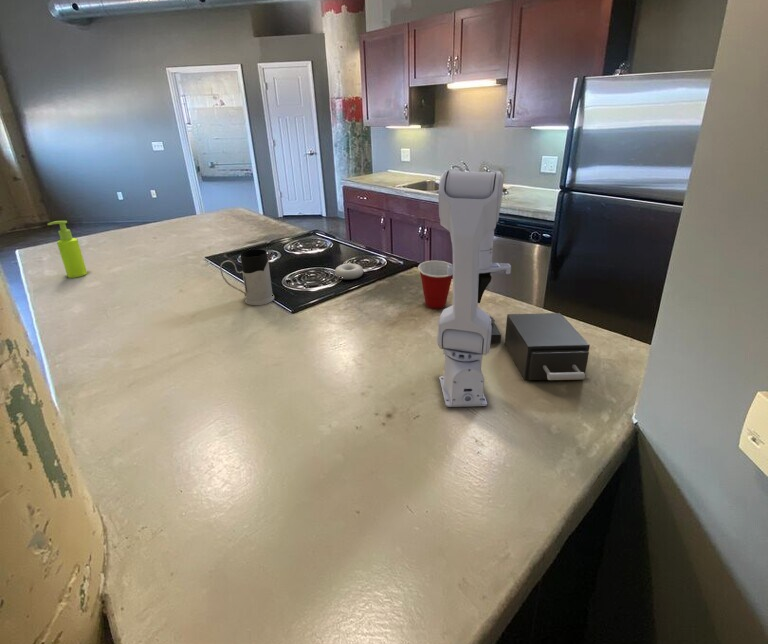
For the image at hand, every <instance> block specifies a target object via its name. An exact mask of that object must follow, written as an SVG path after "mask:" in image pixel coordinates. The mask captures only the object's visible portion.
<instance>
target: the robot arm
mask: <svg viewBox="0 0 768 644" xmlns="http://www.w3.org/2000/svg"><path fill="white" fill-rule="evenodd" d="M503 191H504V174H503V173H502V171H500V170H497V171H496V172H495V171H454V170H452V171H451V170H450V169H449V170H448V169H445V170H444V171H443V172H442V173H441V175H440V177H439V183H438V193H437V194H438V195H437V197H438V218H439V225H440V226H441V227H443V228H444V229H445V230H447V231H448V232H449V235H450V242H451V249H452V263H451V264H452V265H447V274H448V275H453V277H452V305H450V306H447V307H446V308H444V309H443V310H442V311H441V313H440V316H439V319H438V323H437V327H438V328H437V335H436V336H437V337H436V343H437V346H438V348H439V349H440V350H442V355H444V367H443V368H444V369H443V370H444V371H443V375H440V376H439V382H440V387H441V392H442V395H443V400H444V404H445V406H446V407H447V408H460V407H461V408H464V407H486V406H488V401H487V399H486V395H485V393H484V387H485V376H484V373H483V370H482V364H483V356H487V355H488V354H489V353H490V350H491V344H492V343H491V332H492V326H491V318H490V316H491V315H490V314H489V312H487V311H485V310H483V309H482V308H480V306H478V305H479V304H481V301H482V298H483V296H484V293H485V291H486V289H487V287H488V286H489V284H490V283H491V282H492V277H493V276H492V274H505V275H511V273H512V265H511V264H510V263H506V262H505V263H502V262H493V251H494V238H495V229H496V227H497V223H498V222H499V218H500V210H501V208H502V201H503ZM486 312H487V313H486Z"/></svg>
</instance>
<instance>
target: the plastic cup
mask: <svg viewBox="0 0 768 644" xmlns="http://www.w3.org/2000/svg"><path fill="white" fill-rule="evenodd" d="M452 264H453V263H450V262H447V261H444V260H426V261H423V262H421V263H419V264H418V265H417V270H418V272H419V275H420V278H421V285H422V292H423V297H424V302H425V306H426V307H428V308H430V309H434V310H438V309H443V308H444V307H446V304H447V301H448V297H449V294H450V289H451V284H452V281H453V275H448V274H447V265H452Z"/></svg>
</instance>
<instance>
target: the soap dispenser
mask: <svg viewBox="0 0 768 644" xmlns="http://www.w3.org/2000/svg"><path fill="white" fill-rule="evenodd" d="M66 224H68V220H55V221H51V222H48V223H47V226H52V225H59V228H60V230H58V235H59V240H56V243H57V248H58V250H59V253H60V257H61V260H62V263H63V266H64V269H65V272H66V276H67V278H70V279H72V278H80V277H83V276H85V275H87V274H88V271H87V268H86V263H85V260H84V256H83V254H82V250H81V246H80V244H79V241H78V238H77V237H73V235H72V232H71V229H69V228H67V225H66Z"/></svg>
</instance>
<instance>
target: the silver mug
mask: <svg viewBox="0 0 768 644" xmlns="http://www.w3.org/2000/svg"><path fill="white" fill-rule="evenodd" d="M267 252H268V251H267V250H265V249H261V248H255V249H248V250H245V251H242V252H240V254H239V255H240V262H241V268H242V270H241V271H238V268H237V265H236V263H235V262H234V261H232V260H229V259H227V260H224V261H222V262H221V263H220V266H219V270H220V274H221V277H222V279H223V280H224V281H225V283H226V284H227V285H228V286H229V287H231V288H233V289H235V290H236V291H239V292H240V293H242V294H244V297H245V300H244V303H246V304H247V305H248V306H262V305H266V304H269V303H271V302H273V301H274V300H275V298H276V297H275V295H274V293H273V287H272V279H271V271H270V270H271V269H270V263H269V258H268V253H267ZM225 263H231V264H233V266H234V269H235V272H236V273H237V274H242V280H243V285H244V286H243V287H244V290H242V289H241V288H238V287H236V286H234V285H233V284H231V283H230V282H229V281H228V280H227V279H226V278H225V276H224V274H223V270H222V267H223V265H224V264H225ZM272 295H273V296H272Z"/></svg>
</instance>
